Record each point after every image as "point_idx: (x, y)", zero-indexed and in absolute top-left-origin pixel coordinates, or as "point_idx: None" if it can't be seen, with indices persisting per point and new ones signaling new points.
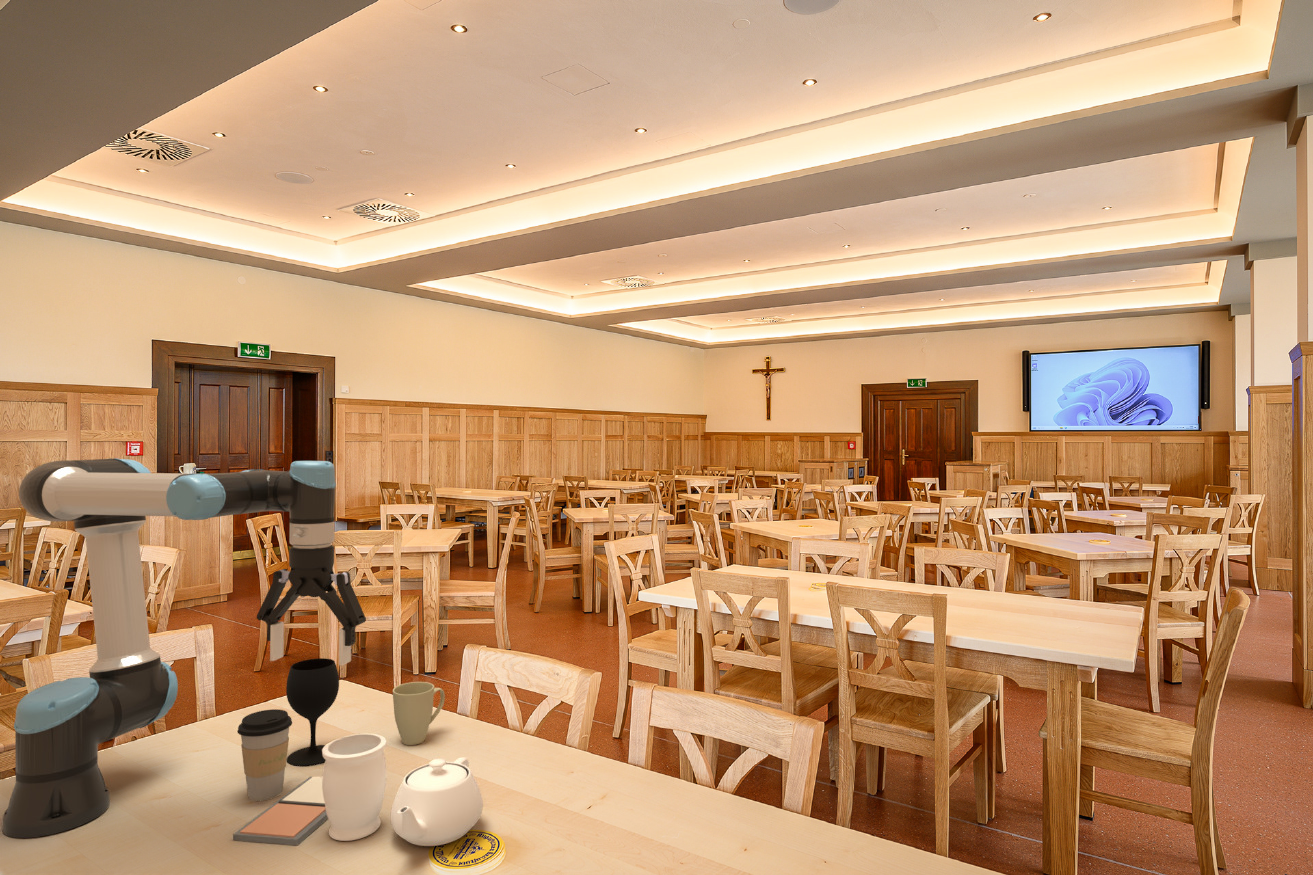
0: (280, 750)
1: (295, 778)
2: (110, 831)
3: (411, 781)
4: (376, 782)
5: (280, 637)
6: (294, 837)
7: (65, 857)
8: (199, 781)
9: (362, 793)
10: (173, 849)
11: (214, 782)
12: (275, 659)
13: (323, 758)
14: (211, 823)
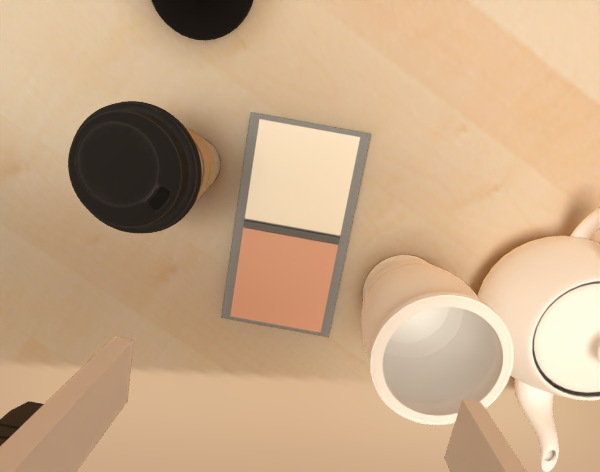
0: (203, 187)
1: (216, 97)
2: (20, 280)
3: (547, 363)
4: (473, 354)
5: (76, 428)
6: (321, 330)
7: (16, 345)
8: (36, 105)
9: (448, 368)
10: (151, 333)
11: (67, 111)
12: (127, 393)
13: (235, 8)
14: (160, 263)
